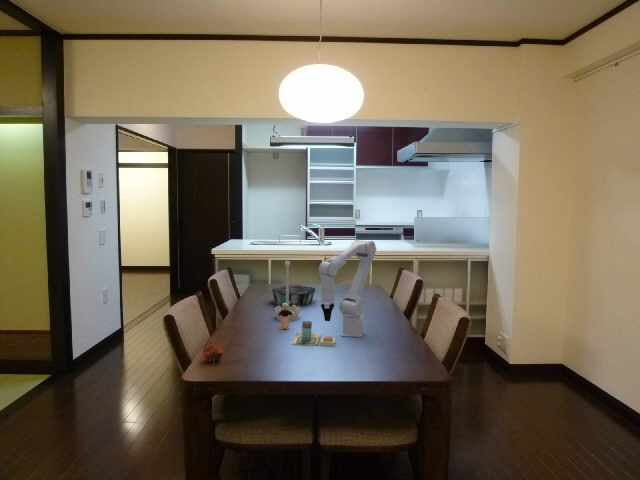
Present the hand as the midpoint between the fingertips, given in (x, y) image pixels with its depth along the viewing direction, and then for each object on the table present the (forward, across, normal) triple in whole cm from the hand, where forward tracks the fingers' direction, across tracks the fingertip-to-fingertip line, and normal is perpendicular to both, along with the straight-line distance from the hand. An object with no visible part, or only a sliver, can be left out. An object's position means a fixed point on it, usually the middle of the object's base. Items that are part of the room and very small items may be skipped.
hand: (327, 320), depth 186 cm
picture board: (+9, -2, -9) cm, 13 cm away
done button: (+9, +2, 0) cm, 9 cm away
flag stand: (+10, -36, -23) cm, 43 cm away
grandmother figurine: (+10, -17, -21) cm, 28 cm away
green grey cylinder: (+8, +1, -9) cm, 13 cm away
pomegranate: (+9, +27, -42) cm, 51 cm away
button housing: (+9, +2, 0) cm, 10 cm away
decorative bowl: (+10, -69, -24) cm, 73 cm away
